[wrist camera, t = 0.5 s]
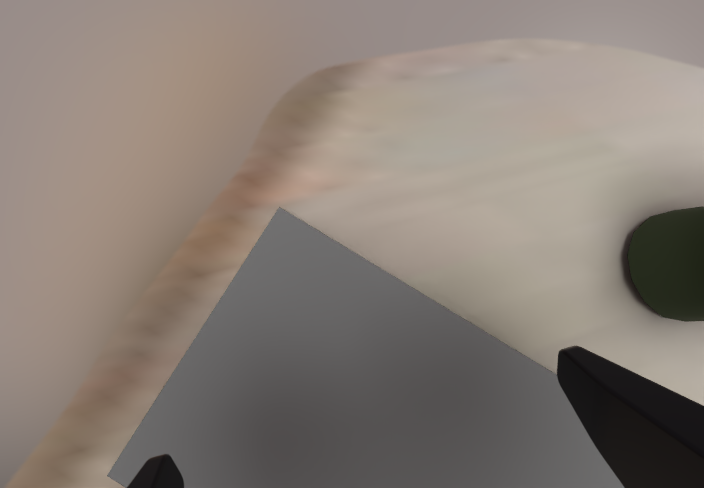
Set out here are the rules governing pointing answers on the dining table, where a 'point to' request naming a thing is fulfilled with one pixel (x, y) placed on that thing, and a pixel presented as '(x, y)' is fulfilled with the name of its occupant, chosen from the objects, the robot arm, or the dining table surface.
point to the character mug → (671, 263)
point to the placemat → (355, 388)
